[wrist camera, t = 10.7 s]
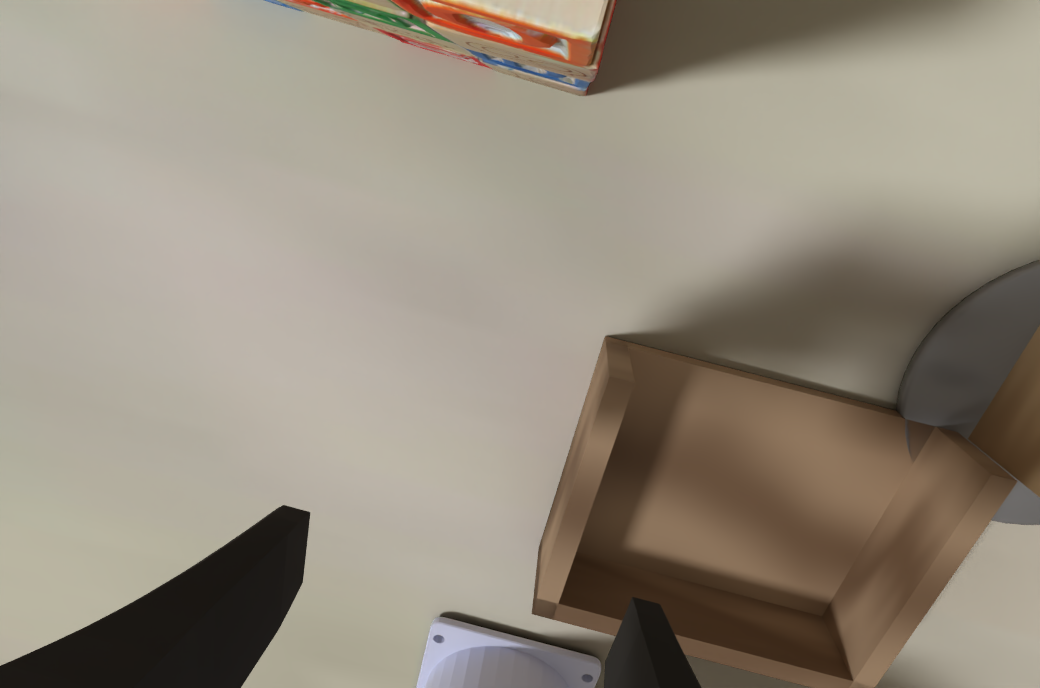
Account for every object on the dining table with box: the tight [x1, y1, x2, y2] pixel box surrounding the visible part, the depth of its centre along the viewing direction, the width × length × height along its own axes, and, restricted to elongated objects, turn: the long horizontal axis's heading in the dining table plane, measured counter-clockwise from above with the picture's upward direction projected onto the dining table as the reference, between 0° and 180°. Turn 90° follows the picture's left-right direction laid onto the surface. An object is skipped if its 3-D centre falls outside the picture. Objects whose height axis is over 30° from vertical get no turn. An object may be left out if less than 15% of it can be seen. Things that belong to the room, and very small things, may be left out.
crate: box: [532, 336, 1018, 688], centre depth 20 cm, size 10×13×4 cm
